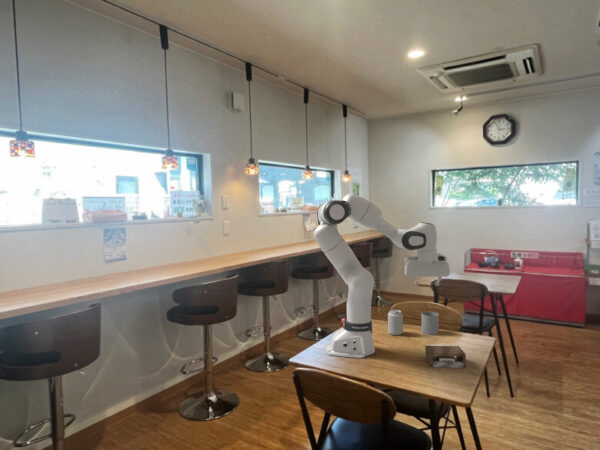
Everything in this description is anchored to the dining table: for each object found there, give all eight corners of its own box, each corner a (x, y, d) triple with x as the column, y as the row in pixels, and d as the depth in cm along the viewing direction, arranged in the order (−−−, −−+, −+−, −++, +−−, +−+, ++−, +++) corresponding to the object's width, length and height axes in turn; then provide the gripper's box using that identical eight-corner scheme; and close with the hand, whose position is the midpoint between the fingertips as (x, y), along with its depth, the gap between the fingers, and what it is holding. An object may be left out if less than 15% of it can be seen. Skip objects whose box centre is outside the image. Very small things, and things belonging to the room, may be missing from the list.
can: (403, 336, 194) (403, 313, 193) (388, 335, 195) (388, 312, 195) (402, 331, 201) (402, 309, 201) (387, 331, 203) (387, 308, 202)
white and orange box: (439, 365, 158) (439, 358, 157) (430, 351, 173) (430, 344, 173) (454, 366, 157) (454, 358, 157) (443, 351, 173) (443, 344, 173)
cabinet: (430, 367, 156) (430, 354, 156) (425, 358, 166) (425, 345, 166) (466, 367, 155) (466, 354, 155) (458, 358, 164) (458, 346, 164)
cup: (424, 329, 204) (424, 310, 204) (440, 331, 200) (440, 312, 199) (419, 333, 198) (419, 314, 197) (435, 336, 193) (435, 316, 192)
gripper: (405, 257, 178) (405, 286, 179) (450, 257, 176) (450, 287, 177) (403, 255, 185) (403, 283, 185) (447, 255, 182) (446, 284, 183)
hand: (426, 285), depth 181 cm, fingers open, 8 cm apart
